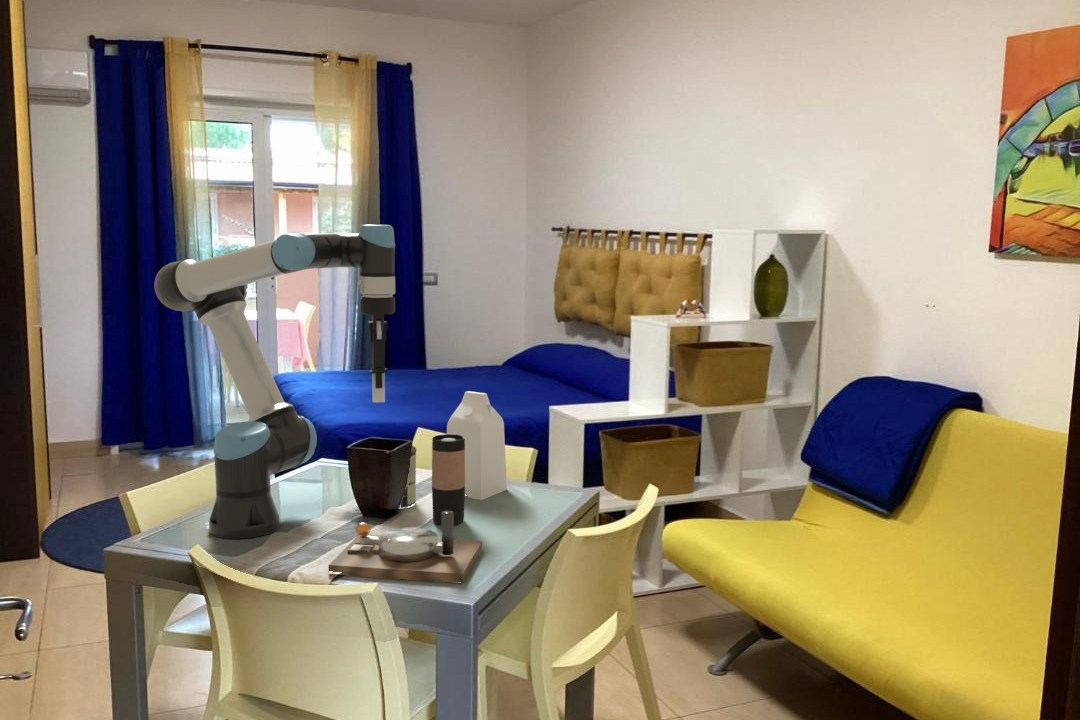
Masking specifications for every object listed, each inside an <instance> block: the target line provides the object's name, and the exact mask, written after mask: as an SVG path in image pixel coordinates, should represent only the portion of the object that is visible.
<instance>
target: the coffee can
mask: <svg viewBox="0 0 1080 720" xmlns="http://www.w3.org/2000/svg"><path fill="white" fill-rule="evenodd" d="M411 446H412V449H411V458H410V468H409V474H408V480H407V485H406V489H405V492H404V496H403V499H402V501H401V508H403V507H408V506H411V505H412V504H414V503H415V502H416V501H417V500H416V498H417V497H416V495H417V494H416V493H417V492H416V489H417V487H416V484H417V483H416V481H417V480H416V479H417V478H416V476H417V470H416V468H417V467H416V463H417V462H416V459H417V458H416V457H417V456H416V455H417V454H416V453H417V448H416V447H415V446H413V445H411ZM416 503H417V502H416Z"/></svg>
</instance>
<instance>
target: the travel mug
mask: <svg viewBox="0 0 1080 720" xmlns="http://www.w3.org/2000/svg"><path fill="white" fill-rule="evenodd" d="M431 440H432V441H431V444H432V447H431V448H432V449H431V454H432V455H431V496H432V497H431V498H432V522H433V524H434V523H435V525H436V526H439V525H440V526H439V527H442V512H443V511H453V512H454V527H455V526H460V525H462V524H463V523H464V520H465V518H464V517H465V501H466V500H465V499H466V497H465V439H463V437H462V436H460V435H453V434H447V433H446V434H439V435H435V436H433V437H432V439H431Z"/></svg>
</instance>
